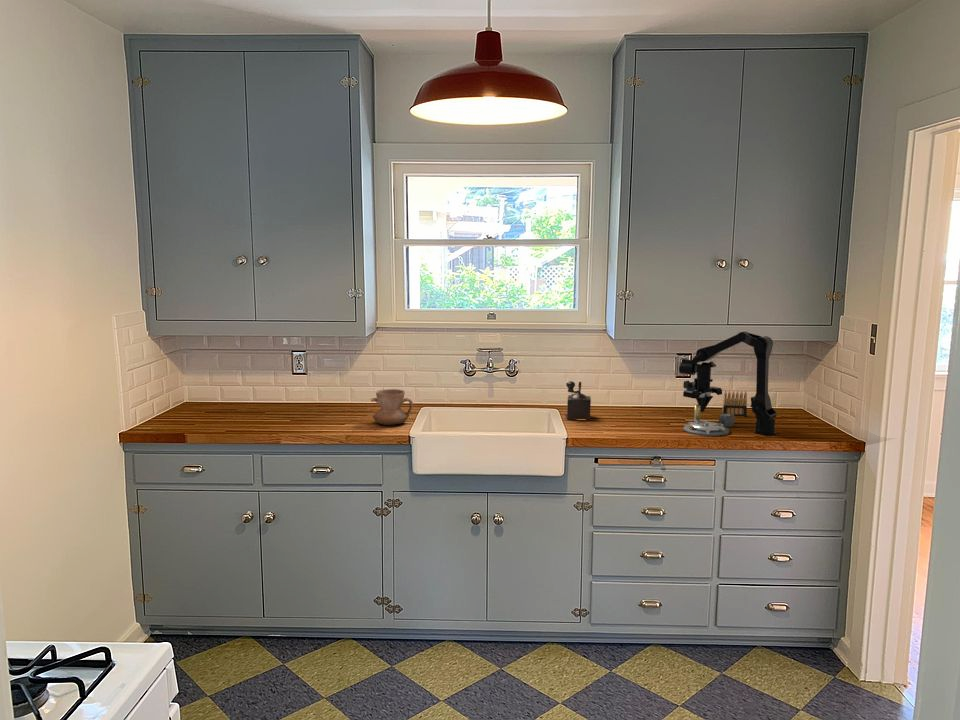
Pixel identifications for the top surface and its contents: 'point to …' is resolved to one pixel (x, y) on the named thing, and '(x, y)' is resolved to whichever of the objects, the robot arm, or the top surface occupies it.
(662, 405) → the top surface
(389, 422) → the ceramic jug
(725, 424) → the link block
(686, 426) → the index plate
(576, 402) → the pepper mill
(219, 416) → the top surface
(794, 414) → the top surface
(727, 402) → the ammunition clip
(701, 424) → the grey crank mechanism
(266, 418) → the top surface
